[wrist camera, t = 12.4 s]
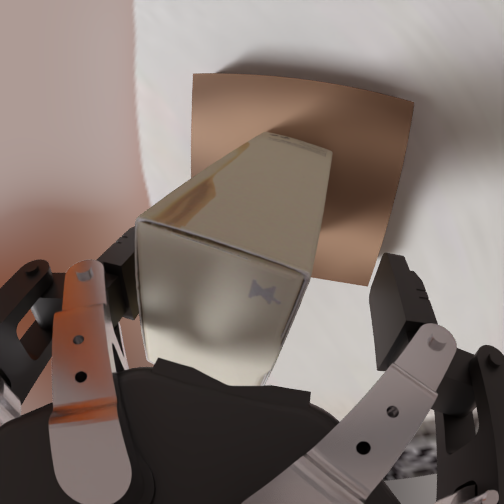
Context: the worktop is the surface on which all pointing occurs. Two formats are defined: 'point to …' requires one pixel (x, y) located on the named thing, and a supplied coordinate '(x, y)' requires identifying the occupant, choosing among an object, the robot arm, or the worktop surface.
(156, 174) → the worktop surface
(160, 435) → the robot arm
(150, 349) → the skincare box
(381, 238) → the walnut block
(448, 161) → the worktop surface
